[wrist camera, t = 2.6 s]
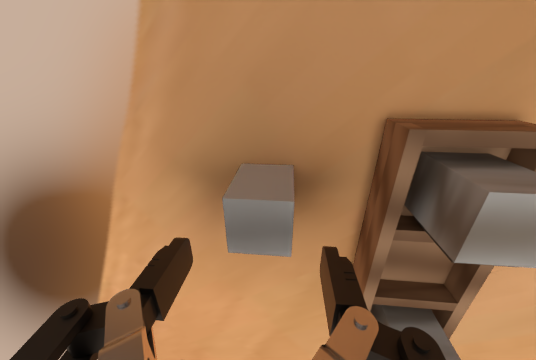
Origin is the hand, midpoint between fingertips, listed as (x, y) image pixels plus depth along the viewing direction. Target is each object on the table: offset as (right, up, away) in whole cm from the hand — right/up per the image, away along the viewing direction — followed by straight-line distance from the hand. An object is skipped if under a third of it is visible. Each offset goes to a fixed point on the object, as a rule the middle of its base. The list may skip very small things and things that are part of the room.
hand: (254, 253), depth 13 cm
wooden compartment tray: (+14, -2, +8) cm, 16 cm away
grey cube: (+1, +4, +7) cm, 8 cm away
